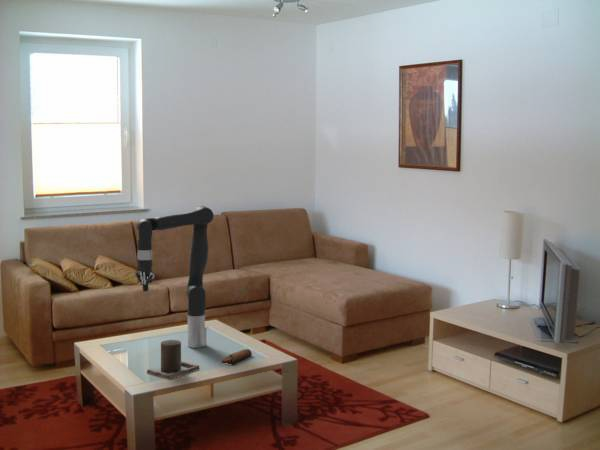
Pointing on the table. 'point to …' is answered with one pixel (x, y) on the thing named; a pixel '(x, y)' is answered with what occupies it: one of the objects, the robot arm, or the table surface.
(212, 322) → the table surface
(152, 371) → the wooden u-shaped frame
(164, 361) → the pillar candle
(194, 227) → the robot arm
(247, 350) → the sunglasses case
